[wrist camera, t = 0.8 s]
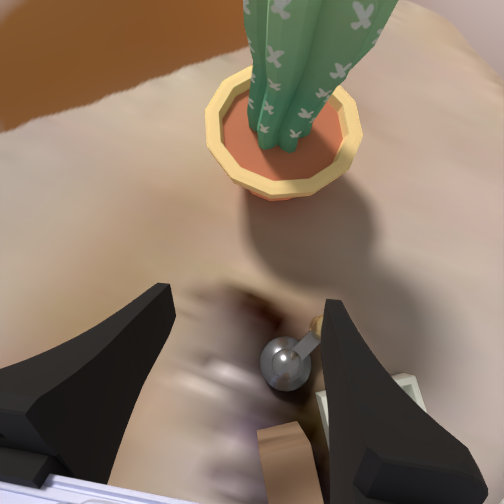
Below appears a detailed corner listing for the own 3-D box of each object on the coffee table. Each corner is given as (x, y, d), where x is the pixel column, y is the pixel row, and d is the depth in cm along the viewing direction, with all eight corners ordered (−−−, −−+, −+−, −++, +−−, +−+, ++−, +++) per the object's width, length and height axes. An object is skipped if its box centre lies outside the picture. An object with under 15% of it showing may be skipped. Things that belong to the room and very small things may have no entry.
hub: (314, 382, 29) (316, 384, 28) (265, 393, 29) (266, 396, 28) (302, 332, 31) (304, 332, 29) (255, 342, 30) (255, 342, 29)
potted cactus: (359, 202, 35) (616, -92, 11) (236, 245, 33) (214, 6, 9) (308, 101, 39) (413, -284, 14) (195, 134, 37) (102, -242, 13)
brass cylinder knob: (285, 385, 28) (292, 394, 24) (265, 362, 28) (269, 366, 24) (341, 330, 29) (355, 329, 25) (321, 309, 30) (333, 305, 26)
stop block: (307, 467, 27) (323, 503, 22) (265, 478, 27) (271, 517, 21) (296, 421, 28) (310, 443, 23) (256, 430, 28) (259, 455, 22)
